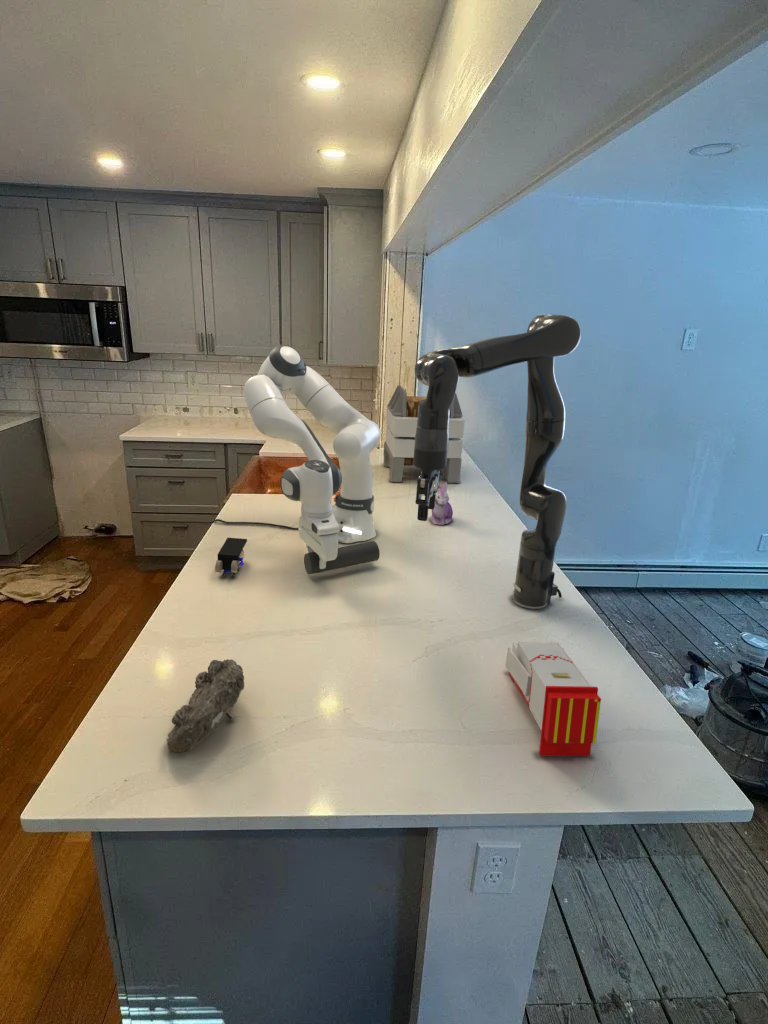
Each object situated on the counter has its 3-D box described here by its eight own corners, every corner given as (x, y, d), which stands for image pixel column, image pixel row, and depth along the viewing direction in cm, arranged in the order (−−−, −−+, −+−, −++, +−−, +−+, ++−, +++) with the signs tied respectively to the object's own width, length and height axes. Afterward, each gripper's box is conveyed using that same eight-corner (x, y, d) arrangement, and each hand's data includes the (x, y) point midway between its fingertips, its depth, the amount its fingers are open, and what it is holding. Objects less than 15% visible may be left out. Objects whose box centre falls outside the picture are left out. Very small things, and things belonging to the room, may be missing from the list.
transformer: (382, 463, 289) (386, 382, 275) (445, 464, 293) (451, 384, 279) (390, 482, 257) (394, 392, 243) (460, 483, 261) (468, 394, 247)
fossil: (192, 660, 117) (244, 628, 112) (224, 691, 120) (276, 661, 115) (142, 746, 98) (202, 712, 93) (182, 779, 101) (242, 748, 96)
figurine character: (238, 584, 162) (249, 557, 175) (236, 562, 158) (247, 536, 172) (215, 584, 161) (227, 556, 175) (212, 561, 158) (225, 535, 171)
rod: (311, 577, 162) (311, 558, 160) (303, 569, 167) (303, 550, 165) (379, 563, 172) (380, 545, 170) (369, 556, 177) (370, 538, 175)
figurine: (438, 527, 207) (441, 488, 202) (423, 518, 216) (426, 480, 211) (459, 523, 211) (463, 485, 206) (444, 514, 220) (447, 477, 215)
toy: (554, 624, 127) (610, 694, 97) (548, 679, 130) (602, 763, 100) (500, 623, 126) (541, 693, 97) (496, 678, 129) (534, 763, 100)
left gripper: (293, 508, 167) (293, 551, 172) (320, 532, 150) (320, 579, 155) (312, 505, 170) (312, 547, 175) (342, 528, 153) (341, 574, 158)
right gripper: (441, 455, 119) (436, 526, 125) (453, 441, 132) (447, 507, 138) (407, 451, 121) (403, 522, 126) (421, 438, 134) (417, 503, 139)
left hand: (316, 562), depth 165 cm, fingers closed on rod, 6 cm apart
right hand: (426, 514), depth 132 cm, fingers open, 8 cm apart
